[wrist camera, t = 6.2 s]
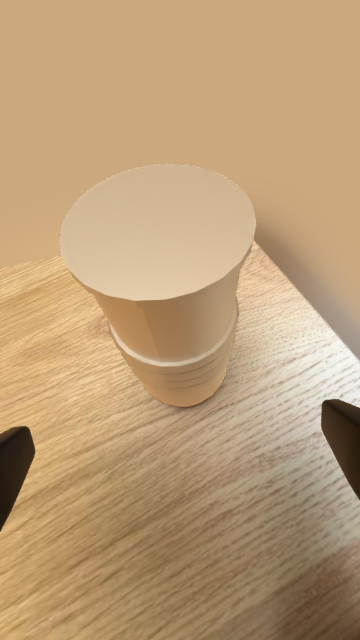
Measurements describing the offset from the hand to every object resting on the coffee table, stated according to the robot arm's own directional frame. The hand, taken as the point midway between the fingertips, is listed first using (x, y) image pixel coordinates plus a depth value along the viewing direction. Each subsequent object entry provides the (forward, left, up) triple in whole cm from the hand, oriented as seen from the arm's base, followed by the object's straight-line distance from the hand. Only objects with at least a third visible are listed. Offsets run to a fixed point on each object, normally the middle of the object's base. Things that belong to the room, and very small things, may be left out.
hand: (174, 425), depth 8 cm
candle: (-1, -6, -13) cm, 14 cm away
